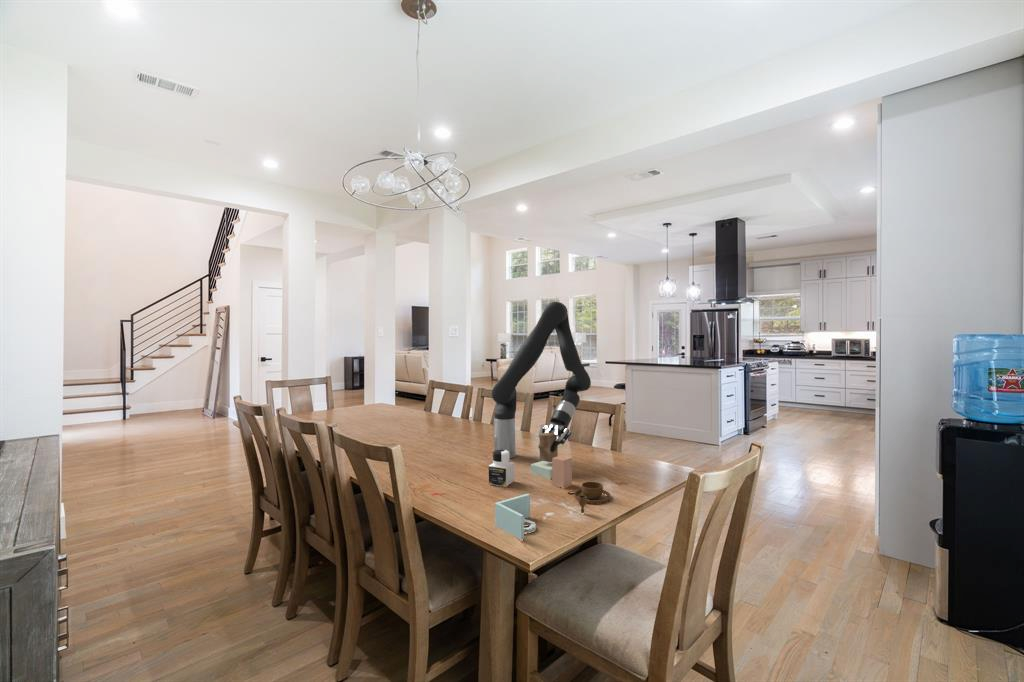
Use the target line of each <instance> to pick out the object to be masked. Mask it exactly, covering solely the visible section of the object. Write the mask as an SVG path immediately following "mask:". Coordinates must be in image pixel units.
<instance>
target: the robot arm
mask: <svg viewBox="0 0 1024 682" xmlns="http://www.w3.org/2000/svg"><path fill="white" fill-rule="evenodd" d="M554 331H555V332H556V335H557V340H558V345H559V352H560V355H561V359H562V362H563V365H564V368H565V370H566V371H568V372H572V373H573V375H571V376H570V377H569V378H568V379H567V381H566V382H565V385H564V386H565V387H564V392H563V395H562V397H561V399H560V401H559V403H558V404H557V406H555V407H556V408H555V409H554V411H553V413H552V415H551V418H550V421H549V423H548V424H547V425H544V424H541V425H540V429H539V431H538V432H539V433H538V438H539V434H543V433H555V434H556V437H555V440H554V441H555V442H553V444H552V446H551V448H550V451H551V452H554V451H555V450H556V448H557V446H558V447H559V445H560V444H561V445H564V444H565V443H566V441H567V440H568V439H569V437H570V436H571V434H572V432H571V430H570V429H569V425H570V423H571V421H572V419H573V417H574V415H575V412H576V409H577V407H578V405H579V403H580V395H579V392H584V391H587V390H589V389H590V387H591V385H592V384H591V383H592V382H591V377H590V376H589V373H588V372H587V370H586V368H585V367H584V366H583V364H582V361H581V358H580V356H579V352H578V349H577V346H576V343H575V340H574V338H573V333H572V331H571V327H570V320H569V312H568V308H567V306H566V305H565V304H564V303H562V302H559V301H552V302H550V303H548V304H546V306H545V307H544V309H543V311H542V313H541V315H540V317H539V318H538V320H537V323H536V324H535V327H534V328H533V329H532V330H531V332H530V333H529V334H528V336H527V337H526V338H525V340H524V342H522V344H521V345H520V347H519V349H518V350H517V352H516V354H515V355H514V357H513V359H512V360H511V361H510V364H509V365H508V368H507V369H506V371H504V373H503V375H501V377H500V379H499V380H498V381H497V382H496V383H495V384H494V386H493V387H492V390H491V397H492V400H493V401H494V402H495V403H496V407H495V410H494V413H493V414H494V415H493V420H494V423H493V424H494V429H493V430H494V435H493V436H494V437H493V438H494V439H493V443H494V444H493V446H494V447H493V449H494V451H496V450H507V451H509V459H513V457H514V458H515V457H516V454H517V453H516V451H517V450H516V412H517V388H516V387H517V386H518V384H519V383H520V382H521V380H522V379H523V377H525V376H526V375H527V374H528V373H529V371H530V370H531V369H532V368H533V367H534V366H535V364H537V361H538V360H539V358H540V357H541V355H542V353H543V352H544V349H545V348H546V345H547V342H548V340H549V337H550V336H551V335H552V333H553V332H554ZM537 447H538V449H539V450H540V442H539V443H538V446H537ZM494 451H493V452H494Z"/></svg>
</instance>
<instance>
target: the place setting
mask: <svg viewBox="0 0 1024 682" xmlns="http://www.w3.org/2000/svg"><path fill="white" fill-rule="evenodd" d="M603 488H604V484H602V483H601V482H598V481H597V482H596V481H585V482H582V483H581V488H579V489H577V490H574V491H567V494H569V495H574V498H575V500H577V501H578V505H579V506H580V508H581V509H580V512H581V513H584V514H585V506H586V505H587V504H588V503H595V504H594V505H598V504H597V503H601V504H604V503H603V502H605V503H607V502H609V501H610V499H611V495H612V494H611V493H610V492H609V491H607V490H605V489H603ZM570 492H574V494H573V493H570ZM580 493H582V494H580ZM602 493H603V494H606V495H607V496H608V498H607V496H606V498H604V499H599V498H600V497H602V495H603V494H602ZM578 494H579V495H578ZM577 495H578V496H577ZM597 498H598V499H597ZM591 499H595V500H591ZM608 500H609V501H608Z"/></svg>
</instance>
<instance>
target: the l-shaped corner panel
mask: <svg viewBox="0 0 1024 682" xmlns="http://www.w3.org/2000/svg"><path fill="white" fill-rule="evenodd" d="M528 517H530V518H531V494H530V493H524V494H521V495H517V496H515V497H511V498H507V499H504V500H500V501H496V502H495V503H494V525H495V526H497V527H499V528H501V529H502V530H504V531H506V532H508V533H510V534H511V535H513V536H515V537H517V538H519V539H521V540H522V539H524V540H525V535H524V533H525V532H527V533H529V532H532V531H534V530H536V529H537V524H536V522H535V521H532V520H531V519H530V520H529V518H528ZM524 518H527V519H524ZM524 525H528V526H529V527H524Z"/></svg>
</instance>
